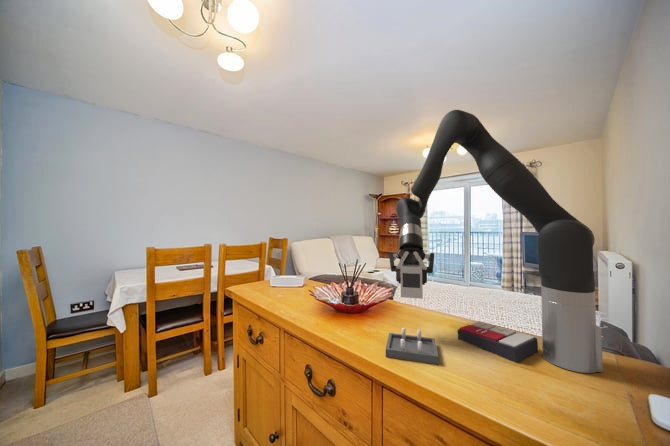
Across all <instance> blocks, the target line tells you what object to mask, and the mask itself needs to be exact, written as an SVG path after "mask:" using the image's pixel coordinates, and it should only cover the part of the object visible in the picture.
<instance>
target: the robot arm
mask: <svg viewBox="0 0 670 446" xmlns="http://www.w3.org/2000/svg"><path fill="white" fill-rule="evenodd" d="M438 125H439V126H438V128H437V130H436V133H435V135H434V137H433V141H432V144H431V146H430V149H429V151H428V155H427V157H426V160H425V161H424V164H423V165H422V168H421V170H420V172H419V174H418V175H417V177H416V178H415V181H414V183H413V184H412V186H411V188H410V192H411V193H412V194H413V195H414V197H416V198H418V199H419V200H415V199H413V198H410V197H408V196H407V197H405V196H404V197H401V198H400V199H399V200H398V201H397V203H396V209H395V210H396V214H397V216H398V219H399V222H400V230H399V231H400V232H399V238H398V239H399V240H398V241H399V243H398V244H399V245H398V248H399V249H398V251H397V253H393V252H392V251H390V252H388V256H389V257H388V259H389V264H390V265H389V266H390V271H391V272H392V273H393V272H395V280H396V282H397V283H398V284H400V285H401V275H400V266H401V265H422V286H424V285H425V284H427V282H428V274H433V272H434V264H435V263H434V262H435V253H434V252H431V253H429V254H428V253H426V252H425V251H424V239H423V231H422V221H421V219H422V218H423V217H424V215H425V212H426V210H427V209H426V207H427V205H428V202H429V199H430V197H431V194H432V192H433V191H434V189H435V188H436V187H437V184H438V183H439V181H440V178H441V175H442V170H443V166H444V161H445V158H446V157H447V154H448V152H449V151H450V149H452V146H453V145H454V144H458V145H460V146H461V147H462V148H463V149H464V150H466V151H467V153H469V154H470V155H471V157H472V158H473V159H474V161H475V163H476V166H477V168H478V171H479V173H480V175H481V177H482V178H483V180H484V181H485V183H486V184H487V185H488V186H489V187H490V188H491V190H492V191H493V192H494V193H496V195H498V196H499V198H501V200H503V201H504V202H506V204H508V205H510V207H512V208H513V209H515V210H516V211H517V212H518V213H520V214H521V215H522V216H523V217H524V218H526V219H527V221H528V222H529V223H530V224H531V226H533V228H534V230H535V231H536V232H537V233H538V236H537V258H538V259H537V260H538V273H539V277H540V285H541V286H540V287H541V288H540V290H541V292H540V293H541V329H542V330H541V333H542V334H541V335H542V337H541V338H542V339H541V340H542V342H541V343H542V346H541V349H542V358H543V359H544V360H546V361H547V362H549V363H551V364H552V365H553V366H557V367H559V368H561V369H565V370H569V371H573V372H577V373H582V374H593V373H597V372H599V373H603V372H604V370H603V369H604V367H603V366H604V365H603V334H602V333H603V332H602V331H603V329H602V328H601V327H600V326H599V325H598V324H597V315H596V310H597V309H596V280H595V272H594V245H595V241H596V238H595V235H594V232H593V231H592V230H591V228H589V227H588V226H587V225H586V224H584V223H583V222H581V221H580V220H578V218H576V217H575V216H573V214H571V213H570V212H568V211H567V210H566V209H565V208H564V207H562V206H561V205H560V204H559V203H558V202H557V201H556V200H554V198H553V197H552V196H551V195H550V193H549V192H548V191H547V190H546V187H544V186H543V184H542V183H541V182H540V181H539V179H538V178H537V177H535V175H534V174H533V173H532V172H531V171H530V170H529V169H528V168H527V166H526V165H525V164H523V163H522V162H521V160H519V159H518V158H517V157H516V156H515V155H513V154H512V153H511V152H510V151H509V150H508V149H507V148H505V146H504V145H502V144H501V143H500V142H498V141H497V140H496V139H495V138H494V137H493V136H492V135H491V134H490V133H489V131H488V130H487V129H486V127H485V126H484V125H483V124H482V122H481V120H480V119H479V118H478V117H477V116H476V115H475V114H473V113H470V112H468V111H464V110H461V109H452V110H451V111H449V112H447V113H446V114H444V116H443V117H442V119H441V121H440V123H439V124H438ZM397 258H398V259H399V261H398V264H397V265H395V261H397ZM425 259H426V261H427V262H428V266H426V265H425V263H424V260H425Z"/></svg>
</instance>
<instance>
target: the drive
mask: <svg viewBox="0 0 670 446" xmlns="http://www.w3.org/2000/svg"><path fill="white" fill-rule="evenodd" d="M400 275H401V284H400V298H404V299H405V298H406V299H407V298H409V299H420V300H421V299H424V298H423V297H424V295H423V294H424V293H423V291H424V290H423V285H422V265H401V266H400Z"/></svg>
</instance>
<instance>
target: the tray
mask: <svg viewBox="0 0 670 446" xmlns="http://www.w3.org/2000/svg"><path fill="white" fill-rule="evenodd" d="M406 329H407V328H405V327H401V333H394V332H389V333H388V337H387V341H386V346H385V357H386V358H391V359H392V358H393V359H399V360H407V361H413V362H420V363H426V364H431V365H432V364H433V365H440V363H439V361H440V360H439V357H440V356H439V351H438V348H437V347H438V346H437V343H436V339H435V338H434V337H426V336H422V330H421V329H416V335H412V334H411V335H410V334H407V333H406V331H407V330H406Z"/></svg>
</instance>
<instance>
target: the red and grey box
mask: <svg viewBox="0 0 670 446" xmlns="http://www.w3.org/2000/svg"><path fill="white" fill-rule="evenodd" d="M516 331H517V330H514V329H509V328H506V327H502V326H499V325H497V326H496V325H494V324H491V323H487V322H484V321H479V320H478V321H476V322H473V323H471V324H467V325H464V326H462V327H459V329H457V339H458V340H460V341H462V342H464V343H466V344H469V345H471V346H474V347H476V348H479V349H481V350H484V351H487V352H489V353H492V354H496V355H497V356H498V357H501V358H503V359H506V360H508V361H511V362H513V363H516V364H520V363H522V362H523V361H525V360H527V359H529V358H530V357H532V356H534V355H536V354H538V353H539V343H538V338H537V337H535V336H533V335H529V334H527V333H522V332H516Z"/></svg>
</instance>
